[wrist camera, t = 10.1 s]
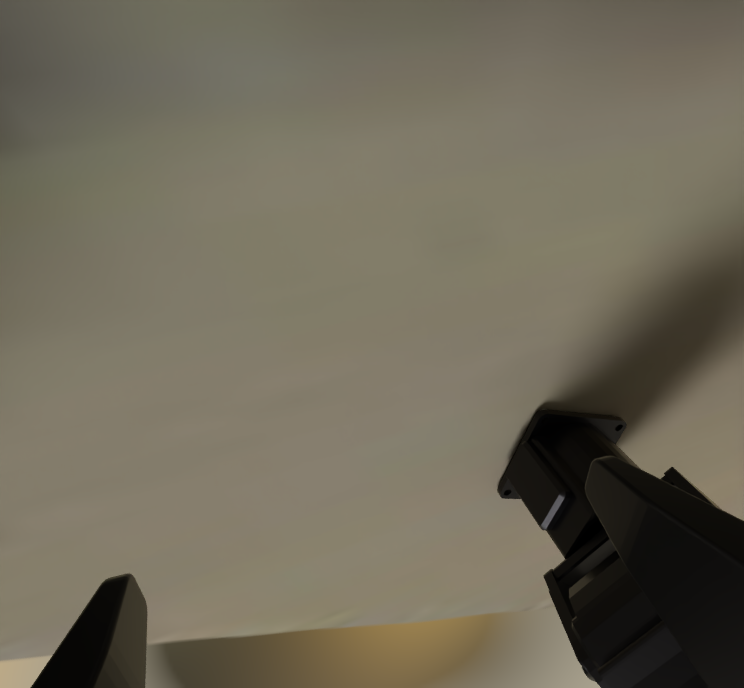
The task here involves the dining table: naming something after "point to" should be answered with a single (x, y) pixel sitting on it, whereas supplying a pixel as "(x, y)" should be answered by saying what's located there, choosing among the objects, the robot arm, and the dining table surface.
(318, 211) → the dining table surface
